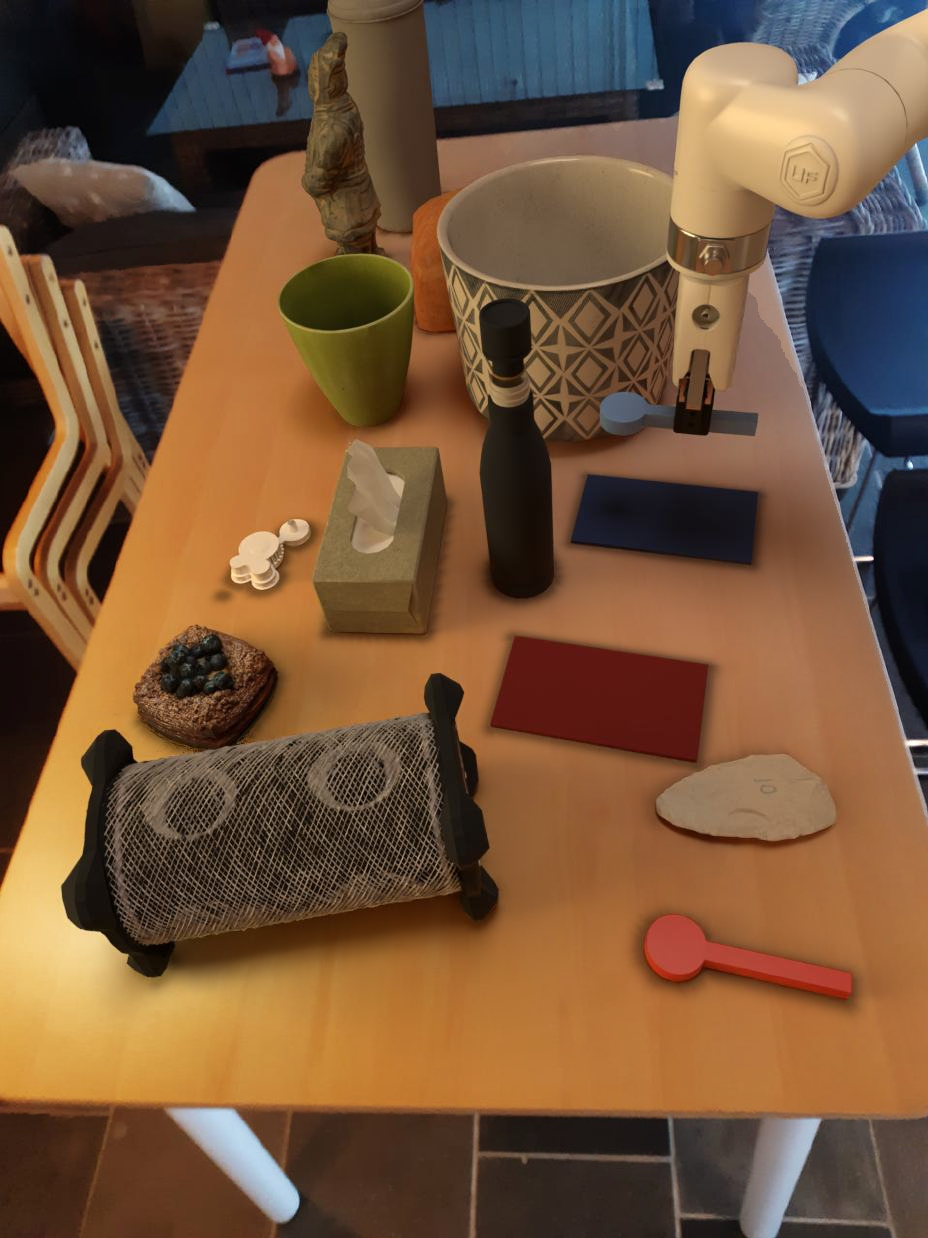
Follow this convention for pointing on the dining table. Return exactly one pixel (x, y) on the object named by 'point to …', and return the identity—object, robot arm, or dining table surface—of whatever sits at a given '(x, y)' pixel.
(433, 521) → the tissue box
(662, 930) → the red spoon
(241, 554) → the white lobed flat piece
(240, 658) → the pastry
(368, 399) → the flower pot
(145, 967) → the speaker
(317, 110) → the statue
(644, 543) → the navy mat
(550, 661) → the maroon mat
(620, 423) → the grey spoon
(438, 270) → the bread
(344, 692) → the dining table surface
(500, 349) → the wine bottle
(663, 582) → the dining table surface
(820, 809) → the stone
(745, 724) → the dining table surface
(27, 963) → the dining table surface
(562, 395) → the planter
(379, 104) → the canister
